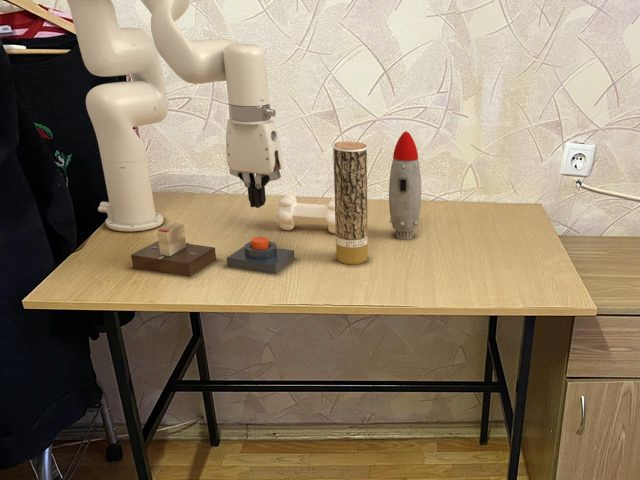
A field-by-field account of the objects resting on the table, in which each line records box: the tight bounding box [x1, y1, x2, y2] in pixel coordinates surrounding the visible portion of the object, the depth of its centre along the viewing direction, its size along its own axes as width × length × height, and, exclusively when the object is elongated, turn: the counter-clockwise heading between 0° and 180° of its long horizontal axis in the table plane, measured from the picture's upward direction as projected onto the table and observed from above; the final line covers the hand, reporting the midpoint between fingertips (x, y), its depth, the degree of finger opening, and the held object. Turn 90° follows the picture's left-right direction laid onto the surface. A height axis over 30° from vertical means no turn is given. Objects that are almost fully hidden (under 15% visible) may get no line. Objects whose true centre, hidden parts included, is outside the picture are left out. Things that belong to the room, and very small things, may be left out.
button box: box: [226, 240, 296, 275], centre depth 152 cm, size 11×9×4 cm
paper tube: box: [332, 141, 368, 266], centre depth 152 cm, size 7×7×25 cm
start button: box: [250, 236, 270, 249], centre depth 151 cm, size 4×4×2 cm
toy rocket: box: [388, 130, 422, 240], centre depth 168 cm, size 8×8×25 cm
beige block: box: [156, 222, 187, 256], centre depth 147 cm, size 6×2×5 cm, turn 167°
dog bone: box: [276, 193, 336, 235], centre depth 172 cm, size 15×9×8 cm, turn 87°
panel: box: [130, 240, 217, 278], centre depth 149 cm, size 13×10×3 cm
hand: (257, 205), depth 147 cm, fingers closed
